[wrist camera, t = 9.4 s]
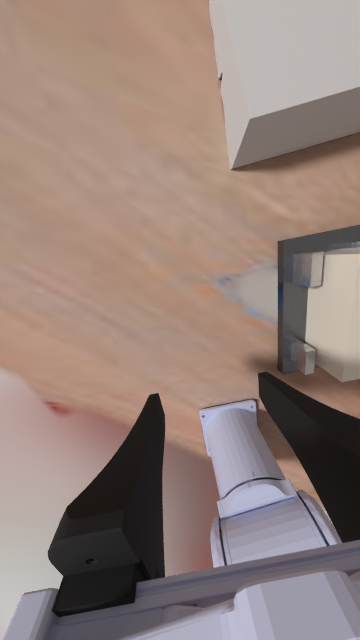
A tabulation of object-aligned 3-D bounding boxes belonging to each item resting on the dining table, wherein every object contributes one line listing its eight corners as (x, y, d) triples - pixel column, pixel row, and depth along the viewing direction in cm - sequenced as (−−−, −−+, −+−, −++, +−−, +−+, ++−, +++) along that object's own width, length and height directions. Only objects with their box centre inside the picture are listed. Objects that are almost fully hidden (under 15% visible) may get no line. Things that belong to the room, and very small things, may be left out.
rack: (344, 356, 24) (372, 372, 20) (278, 369, 24) (295, 387, 20) (363, 224, 18) (406, 216, 15) (277, 241, 18) (302, 237, 15)
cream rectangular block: (332, 350, 22) (376, 375, 17) (304, 355, 22) (341, 382, 17) (343, 248, 18) (406, 244, 13) (309, 255, 18) (360, 253, 13)
